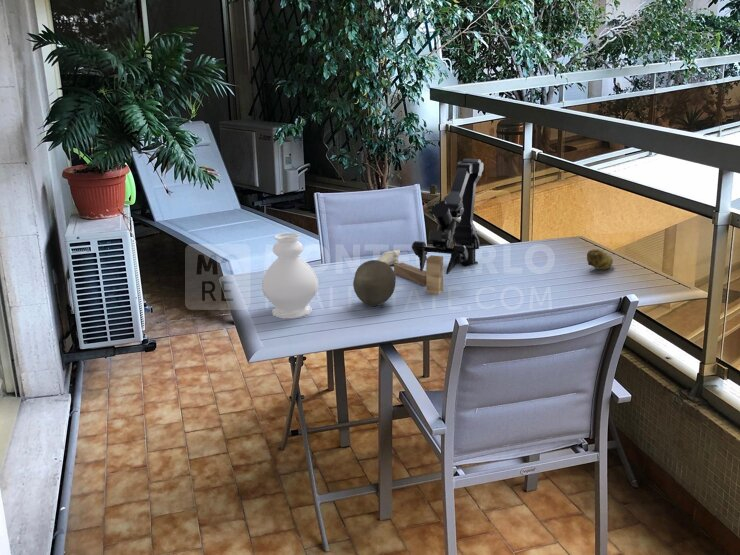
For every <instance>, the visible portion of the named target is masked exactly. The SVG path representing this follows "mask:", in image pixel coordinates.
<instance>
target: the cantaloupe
mask: <svg viewBox="0 0 740 555" xmlns="http://www.w3.org/2000/svg"><path fill="white" fill-rule="evenodd" d="M396 279H397V278H396V274H395V273H394V268H392V265H388V264H387V263H385V262H382V261H378V259H372V260H367V261H365V262H363V263H361V264H360V265H359V266H358V267H357V269H356V271H355V273H354V276H353V282H352V285H353V291H354V293H355V296H356V298H358V300H360V301H361V302H362V303H364V305H367V306H372V307H377V306H380V305H382V304H383V303H385V302H387V301H389V299H390V298H391V297H392V295H393V294H394V293H395V292H394V291H395V288H396V283H397V282H396V281H397V280H396Z"/></svg>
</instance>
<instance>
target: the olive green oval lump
mask: <svg viewBox="0 0 740 555" xmlns="http://www.w3.org/2000/svg"><path fill="white" fill-rule="evenodd" d="M613 259H614V258H613V257H612V255H610V254H609V253H607V252H605V251H604V250H602V249H600V248H592V249H590V250H588V252H587V253H586V260H587V265H589V266H592V267H593V268H597V269H599V270H607V268H608V269H610V268H612V266H613V264H614V263H613V261H614V260H613Z"/></svg>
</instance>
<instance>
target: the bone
mask: <svg viewBox="0 0 740 555" xmlns="http://www.w3.org/2000/svg"><path fill="white" fill-rule="evenodd" d="M400 255H401V250H400V249H395V250H388V251H385V252H382V255H381V256H380V257H379V258H378V259H377V260H378V261H382V262H385V263H387V264H388V265H390V266H394V264H398V263H400V262H399V257H400Z"/></svg>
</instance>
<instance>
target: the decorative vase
mask: <svg viewBox="0 0 740 555" xmlns="http://www.w3.org/2000/svg"><path fill="white" fill-rule="evenodd" d="M274 239H275V240H276V241H277V242H275V243H274V244H273V246H272V252H273V254H274V255H276V257H277V258H276V259H275V260H274V261H273V262H272V263H271V264H270V266H269V267H268V268H267V270H266V271H265V273H264V275H263V277H262V279H261V290H262V291H261V292H262V293H263V295H264V297H265V298H266V299H267V300H268V301H269V302H270V303H271V305H273V306H274V307H273V309H272V311H271V314H272V315H273V316H274V317H275V316H276V318H278V317H279V318H280V319H285V320H288V319H289V320H290V319H299V318H304V317H306V316H308V315H310V314H311V313H312V306H310V305H309V303H310V302H311V301H312V299H313V298H315V296H316V294H317V292H318V290H319V279H318V276H317V273H316V272H315V270H314V269H313V268H312V267H311V266H310V265H309V264H308V263H307V262H306V261H305V260H304V259H303V258H301V256H300V255H301V254H302V252H303V251H304V245H303V244H302V243H301V242H300V241H299V239H300V234H299V233H294V232H285V233H284V232H283V233H278V234H275V236H274ZM279 318H278V319H279Z"/></svg>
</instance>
